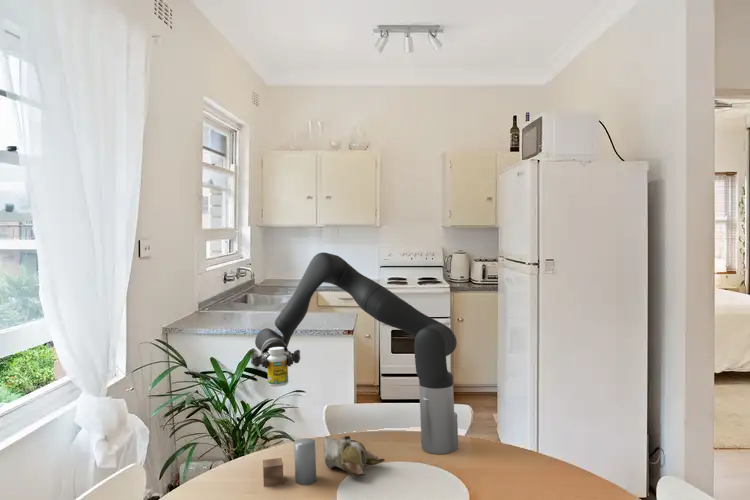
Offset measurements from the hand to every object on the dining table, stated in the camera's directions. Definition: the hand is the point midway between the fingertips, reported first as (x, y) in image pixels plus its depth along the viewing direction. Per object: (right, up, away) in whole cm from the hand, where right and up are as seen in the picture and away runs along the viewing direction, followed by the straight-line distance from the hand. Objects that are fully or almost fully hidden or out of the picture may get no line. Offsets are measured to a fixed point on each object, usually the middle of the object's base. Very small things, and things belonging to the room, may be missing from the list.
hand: (278, 363), depth 130 cm
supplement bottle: (0, -6, +2) cm, 7 cm away
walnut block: (+1, -26, -11) cm, 28 cm away
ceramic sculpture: (+19, -25, -6) cm, 32 cm away
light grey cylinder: (+9, -25, -11) cm, 29 cm away
